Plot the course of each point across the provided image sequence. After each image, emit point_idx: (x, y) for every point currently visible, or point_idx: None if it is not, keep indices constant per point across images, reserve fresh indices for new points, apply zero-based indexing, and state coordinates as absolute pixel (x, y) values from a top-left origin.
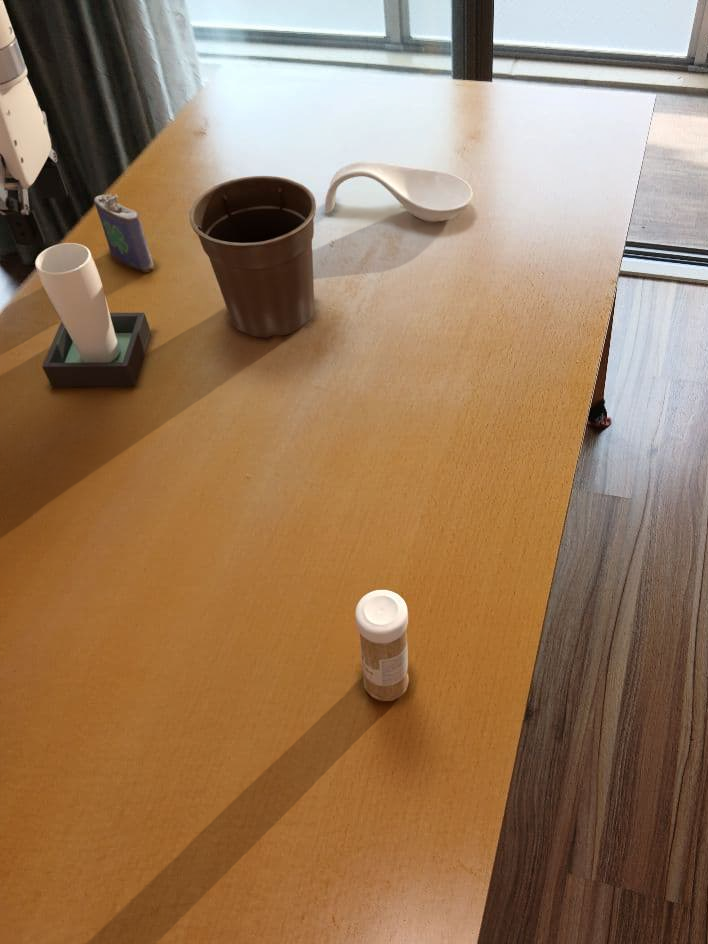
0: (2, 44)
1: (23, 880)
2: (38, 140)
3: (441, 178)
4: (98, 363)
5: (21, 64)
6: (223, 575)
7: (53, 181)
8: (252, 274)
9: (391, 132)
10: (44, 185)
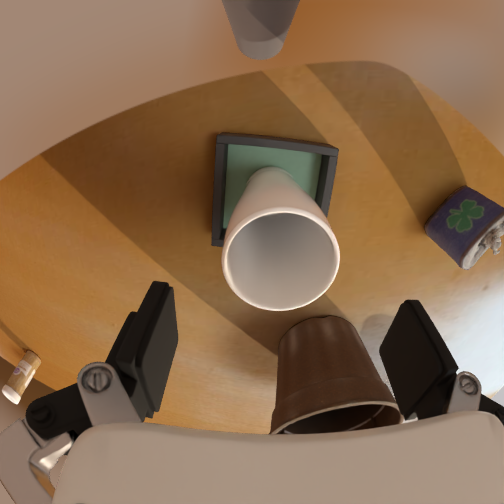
0: None
1: None
2: None
3: (413, 420)
4: (217, 211)
5: None
6: (46, 305)
7: (399, 373)
8: (275, 406)
9: (484, 376)
10: (408, 343)
